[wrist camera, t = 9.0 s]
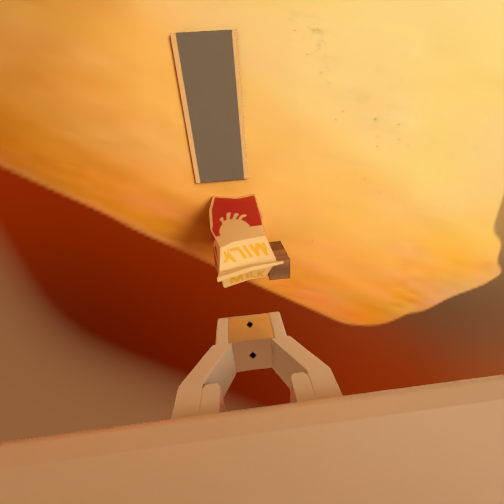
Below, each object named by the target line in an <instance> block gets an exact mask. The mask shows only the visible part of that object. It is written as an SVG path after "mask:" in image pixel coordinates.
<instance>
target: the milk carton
mask: <svg viewBox="0 0 504 504" xmlns="http://www.w3.org/2000/svg"><path fill="white" fill-rule="evenodd" d="M209 217H210V230H211V235H212V243H213V253H214V260H215V266H216V269H217V271H218V273H219V275H218V278H217V279H218V282H219V281H222V284H223V286H224V288H225V287H228V286H231V285H234V284H237V283H241V282H244V281H247V280H250V279H256V278H262V277H266V276H267V274H268V273H269V271H270V270H271V268H272V267H273V266H275V265H279V264H283V263H284V261H277V260H276V258H275V256H274V254H273V251H272V249H271V247H270V245H269V242H268V240H267V238H266V236H265V231H264V226H263V222H262V214H261V211H260V208H259V205H258V202H257V199H256V197H255V194H253V195H248V196H243V197H239V198H233V197H219V196H213V198H212V201H211V205H210V209H209Z"/></svg>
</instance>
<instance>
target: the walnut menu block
mask: <svg viewBox="0 0 504 504" xmlns="http://www.w3.org/2000/svg"><path fill="white" fill-rule="evenodd" d="M269 245H270V247H271V249H272V251H273V254H274V256H275V258H276V260H277V261H284V263H283V264H279V265H275V266H273V267H272V268H271V270H270V271H269V273H268V276H269V279H270V280H276V279H286V278H290V259H289V257H288V255H287V253H286V251H285V249H284V247H283V245H282V243H281V242H280V241H278V242H269Z"/></svg>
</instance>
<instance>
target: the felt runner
mask: <svg viewBox="0 0 504 504" xmlns="http://www.w3.org/2000/svg"><path fill="white" fill-rule="evenodd" d="M170 36H171V42H172V48H173V54H174V59H175V65H176V71H177V77H178V82H179V88H180V94H181V99H182V105H183V111H184V117H185V122H186V128H187V134H188V139H189V145H190V151H191V157H192V162H193V168H194V174H195V179H196V183H205V182H216V181H227V180H239V179H248V167H247V154H246V141H245V128H244V115H243V102H242V89H241V76H240V63H239V50H238V36H237V29H235V30H218V31H201V32H183V33H170Z"/></svg>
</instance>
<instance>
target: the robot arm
mask: <svg viewBox="0 0 504 504" xmlns="http://www.w3.org/2000/svg"><path fill="white" fill-rule="evenodd" d="M263 368H273V369H274V370H275V372H276V373H277V374H278V375H279V377H280V378H281V379H282V380H283V381H284V382H285V384H286V385H287V386H288V387H289V388H290V390H291V403H288V404H281V405H274V406H266V407H259V408H251V409H244V410H236V411H229V412H225V407H224V402H223V398H224V396H225V394H226V392H227V390H228V388H229V386H230V384H231V382H232V380H233V378H234V377H235V375H236V372H240V371H247V370H253V369H263ZM0 504H504V375H497V376H490V377H482V378H475V379H467V380H460V381H452V382H445V383H437V384H430V385H422V386H415V387H408V388H400V389H392V390H385V391H377V392H370V393H362V394H355V395H348V396H342V394H341V392H340V389H339V387H338V385H337V382H336V380H335V378H334V376H333V373H332V371H331V369H330V368H329V367H328V366H327V365H326V364H324V363H323V362H322V361H321V360H319V359H318V358H317V357H316V356H314V355H313V354H312V353H310V352H309V351H308V350H307V349H305V348H304V347H303V346H301V345H300V344H299V343H298V342H297V341H295V340H294V339H293V338H292V337H290V336H287V335H286V332H285V329H284V325H283V322H282V319H281V316H280V313H279V312H271V313H265V314H257V315H249V316H238V317H229V318H220V319H218V323H217V336H216V345H213V346H212V347H211V348H210V349H209V350H208V352H207V353H206V354H205V355H204V356H203V358H202V359H201V360H200V361H199V363H198V364H197V365H196V366H195V368H194V369H193V370H192V371H191V372H190V374H189V375H188V376H187V377H186V378H185V380H184V381H183V382H182V383H181V385H180V386H179V387H178V392H177V396H176V400H175V405H174V409H173V414H172V418H171V419H169V420H161V421H154V422H146V423H139V424H132V425H125V426H117V427H109V428H102V429H95V430H87V431H79V432H72V433H65V434H57V435H50V436H42V437H35V438H27V439H20V440H13V441H5V442H0Z"/></svg>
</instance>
